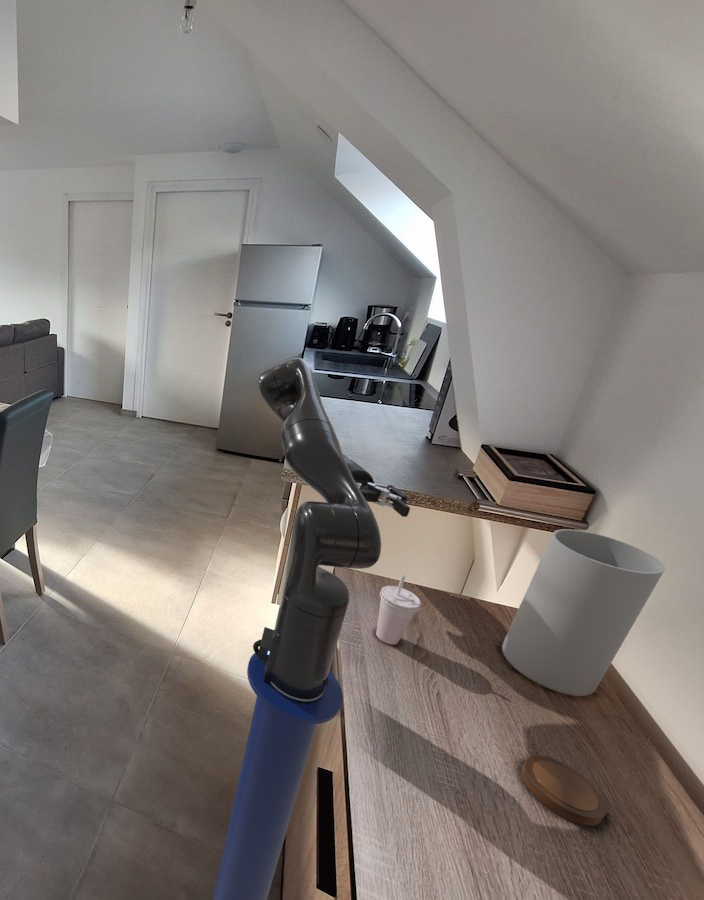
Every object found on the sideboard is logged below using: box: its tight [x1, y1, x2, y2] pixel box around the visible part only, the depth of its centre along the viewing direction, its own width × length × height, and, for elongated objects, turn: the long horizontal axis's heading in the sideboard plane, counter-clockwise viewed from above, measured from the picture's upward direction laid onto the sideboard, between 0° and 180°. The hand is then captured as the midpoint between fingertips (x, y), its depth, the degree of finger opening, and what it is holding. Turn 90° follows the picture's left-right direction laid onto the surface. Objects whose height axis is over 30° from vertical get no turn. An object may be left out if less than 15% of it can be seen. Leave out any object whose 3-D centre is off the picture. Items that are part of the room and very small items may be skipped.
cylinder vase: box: [501, 528, 666, 697], centre depth 77 cm, size 12×12×25 cm
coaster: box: [520, 755, 608, 827], centre depth 61 cm, size 8×8×2 cm
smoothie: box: [375, 574, 422, 646], centre depth 84 cm, size 6×6×14 cm
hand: (384, 511), depth 90 cm, fingers open, 8 cm apart
